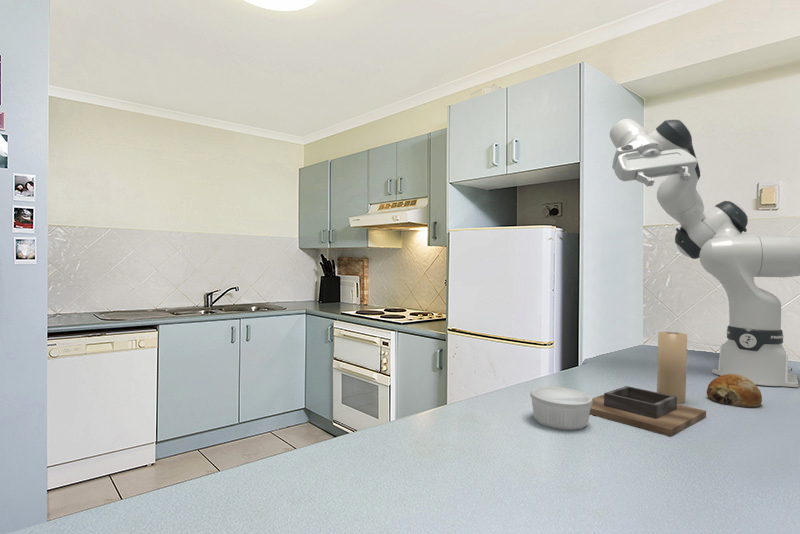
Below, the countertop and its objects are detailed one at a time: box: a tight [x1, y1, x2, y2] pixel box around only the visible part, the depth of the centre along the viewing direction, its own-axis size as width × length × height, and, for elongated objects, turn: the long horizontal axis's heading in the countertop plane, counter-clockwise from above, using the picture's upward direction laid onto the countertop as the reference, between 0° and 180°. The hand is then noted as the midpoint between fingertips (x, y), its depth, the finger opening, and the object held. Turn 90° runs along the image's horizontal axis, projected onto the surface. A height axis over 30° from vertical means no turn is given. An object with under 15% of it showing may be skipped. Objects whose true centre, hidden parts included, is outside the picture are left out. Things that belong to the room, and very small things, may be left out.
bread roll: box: [706, 374, 763, 408], centre depth 103 cm, size 10×10×8 cm
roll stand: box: [589, 385, 707, 437], centre depth 93 cm, size 18×18×4 cm
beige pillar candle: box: [656, 331, 688, 405], centre depth 103 cm, size 6×6×15 cm
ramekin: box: [529, 386, 593, 431], centre depth 87 cm, size 11×11×5 cm
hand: (669, 181), depth 119 cm, fingers open, 8 cm apart
